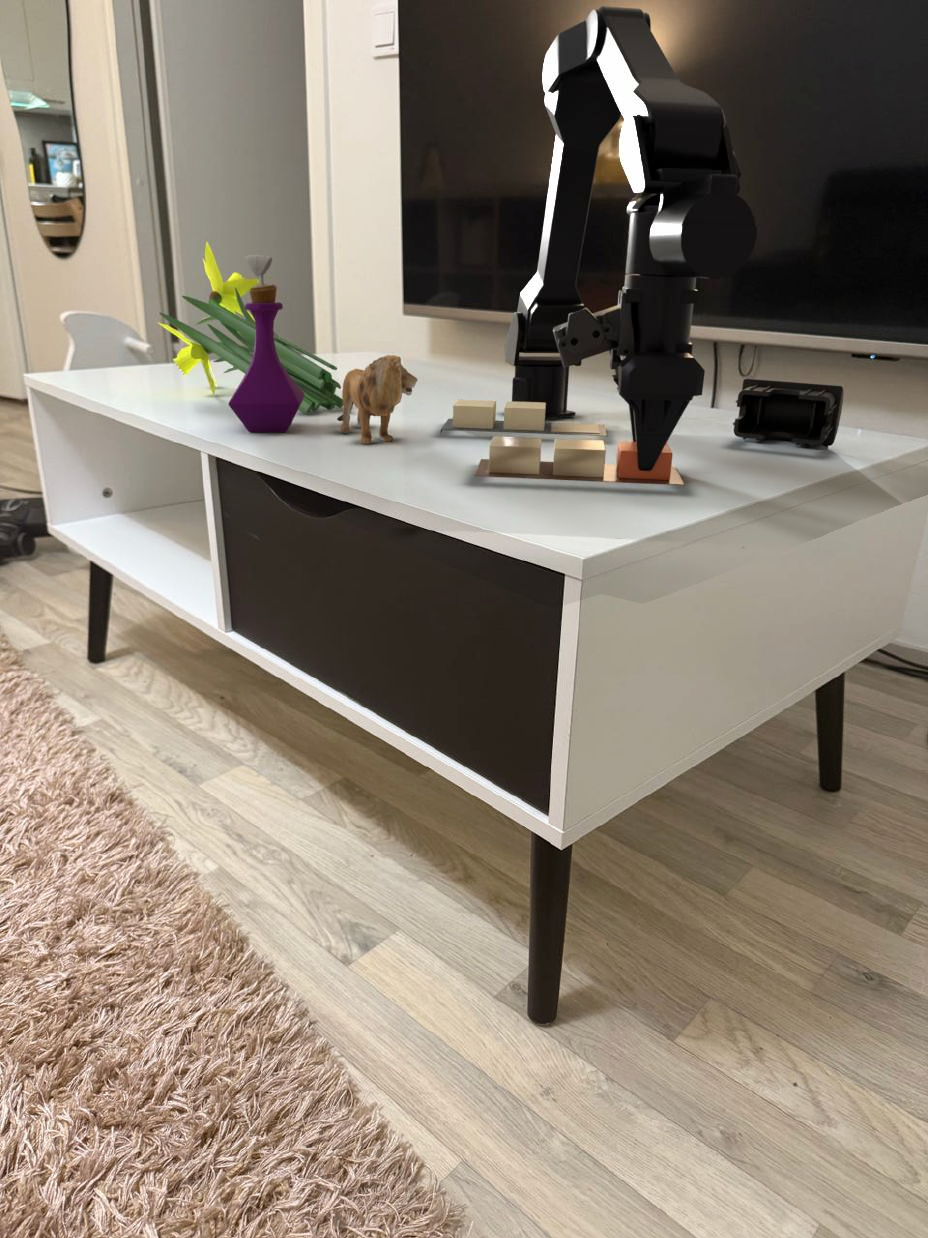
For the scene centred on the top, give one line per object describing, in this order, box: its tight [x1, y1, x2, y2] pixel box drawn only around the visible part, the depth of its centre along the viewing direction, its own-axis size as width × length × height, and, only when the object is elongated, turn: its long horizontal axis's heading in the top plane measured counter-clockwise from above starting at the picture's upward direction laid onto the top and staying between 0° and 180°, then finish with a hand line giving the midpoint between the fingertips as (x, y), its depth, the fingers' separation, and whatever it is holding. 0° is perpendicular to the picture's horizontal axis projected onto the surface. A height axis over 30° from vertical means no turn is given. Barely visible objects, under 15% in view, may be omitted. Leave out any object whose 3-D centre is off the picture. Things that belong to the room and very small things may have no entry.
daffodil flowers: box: [156, 241, 343, 415], centre depth 120 cm, size 17×15×35 cm
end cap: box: [732, 378, 845, 449], centre depth 95 cm, size 10×7×7 cm
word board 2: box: [473, 435, 686, 486], centre depth 80 cm, size 18×7×3 cm, turn 84°
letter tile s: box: [615, 440, 674, 480], centre depth 80 cm, size 4×4×2 cm
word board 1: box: [439, 399, 608, 437], centre depth 100 cm, size 18×7×3 cm, turn 84°
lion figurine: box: [336, 354, 418, 445], centre depth 96 cm, size 15×5×9 cm, turn 33°
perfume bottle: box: [228, 254, 305, 433], centre depth 97 cm, size 8×8×18 cm
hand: (642, 464), depth 80 cm, fingers closed on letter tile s, 4 cm apart
